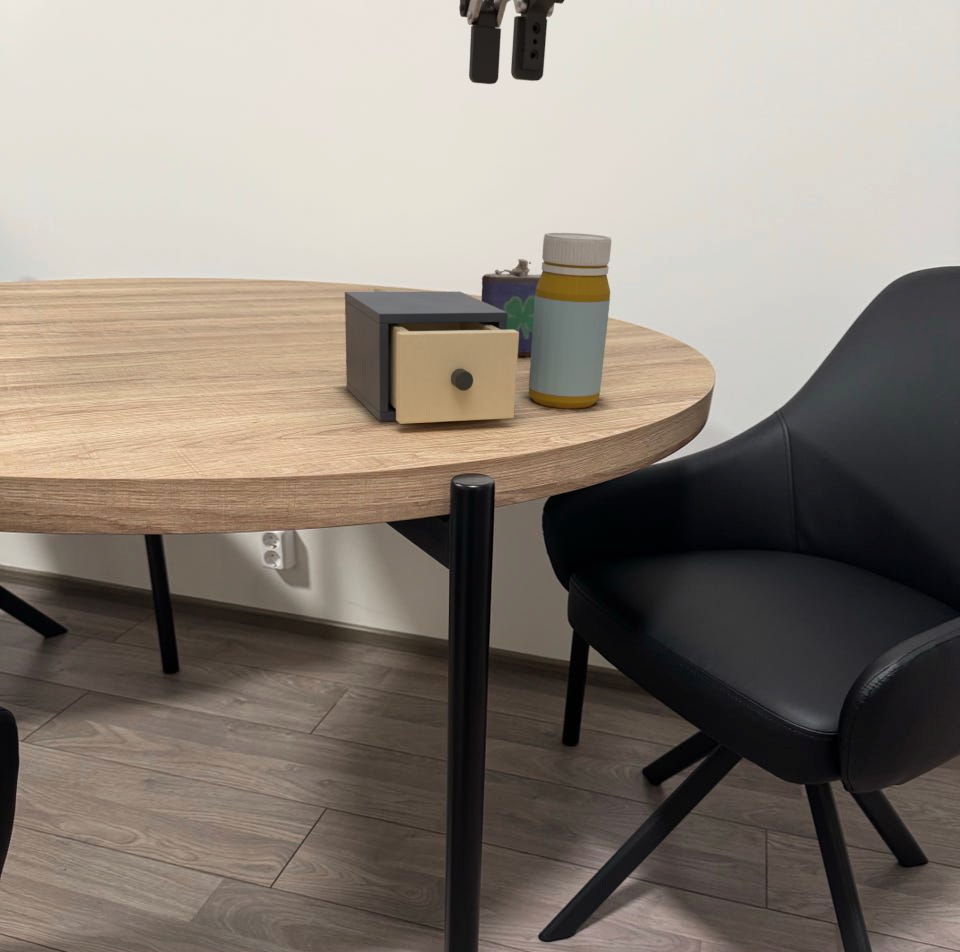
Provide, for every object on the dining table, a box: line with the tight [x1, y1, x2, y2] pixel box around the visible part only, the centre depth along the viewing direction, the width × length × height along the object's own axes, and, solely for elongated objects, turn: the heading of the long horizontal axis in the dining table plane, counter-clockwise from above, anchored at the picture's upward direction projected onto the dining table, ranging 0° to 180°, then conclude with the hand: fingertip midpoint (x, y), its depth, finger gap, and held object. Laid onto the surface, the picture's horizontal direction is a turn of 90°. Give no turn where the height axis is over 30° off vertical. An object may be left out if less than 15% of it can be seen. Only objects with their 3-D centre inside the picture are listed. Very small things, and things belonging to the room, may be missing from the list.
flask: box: [481, 258, 541, 358], centre depth 110 cm, size 9×3×11 cm, turn 111°
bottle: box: [528, 232, 612, 409], centre depth 89 cm, size 7×7×15 cm
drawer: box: [388, 322, 519, 425], centre depth 83 cm, size 13×10×7 cm
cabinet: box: [344, 291, 508, 423], centre depth 88 cm, size 13×12×9 cm
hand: (504, 81), depth 70 cm, fingers open, 8 cm apart
